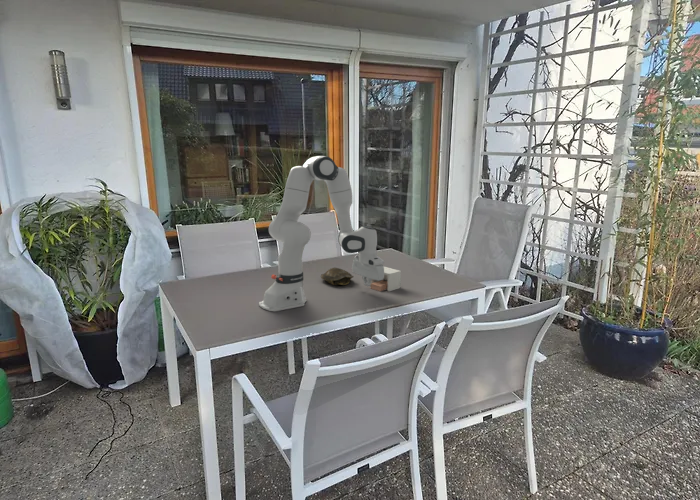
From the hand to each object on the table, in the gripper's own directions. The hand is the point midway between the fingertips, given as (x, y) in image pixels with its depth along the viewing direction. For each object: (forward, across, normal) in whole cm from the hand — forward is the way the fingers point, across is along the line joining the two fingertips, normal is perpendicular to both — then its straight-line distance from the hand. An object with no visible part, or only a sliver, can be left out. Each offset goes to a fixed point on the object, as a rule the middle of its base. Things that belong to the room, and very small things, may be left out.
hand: (367, 285), depth 222 cm
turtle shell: (+4, -25, +1) cm, 25 cm away
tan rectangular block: (+4, 0, +10) cm, 11 cm away
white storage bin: (+3, -1, +14) cm, 14 cm away
